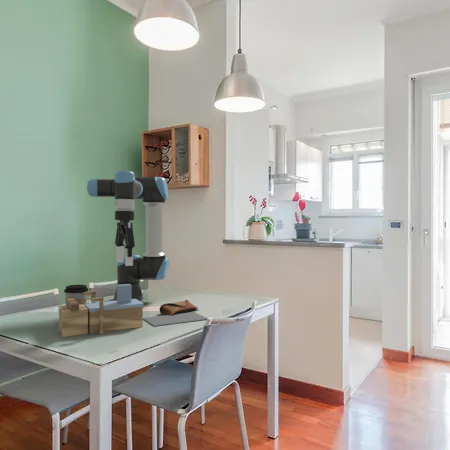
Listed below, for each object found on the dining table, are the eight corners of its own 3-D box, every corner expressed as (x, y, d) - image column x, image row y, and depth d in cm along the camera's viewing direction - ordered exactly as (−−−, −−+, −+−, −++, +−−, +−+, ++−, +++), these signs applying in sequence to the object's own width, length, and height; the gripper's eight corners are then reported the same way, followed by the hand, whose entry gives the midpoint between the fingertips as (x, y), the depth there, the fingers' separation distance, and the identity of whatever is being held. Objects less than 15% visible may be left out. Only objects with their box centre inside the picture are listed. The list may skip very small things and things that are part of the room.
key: (65, 303, 154) (65, 297, 154) (72, 302, 155) (72, 296, 155) (71, 311, 140) (71, 305, 140) (79, 311, 141) (79, 304, 141)
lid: (84, 309, 155) (84, 285, 155) (135, 304, 165) (135, 282, 165) (89, 314, 145) (89, 289, 145) (143, 309, 155) (143, 285, 155)
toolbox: (57, 328, 152) (58, 294, 152) (133, 319, 167) (133, 288, 166) (63, 338, 139) (63, 301, 139) (144, 328, 153) (144, 294, 153)
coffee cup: (67, 320, 165) (68, 284, 165) (91, 319, 166) (91, 284, 166) (60, 326, 155) (60, 288, 155) (85, 325, 156) (85, 288, 156)
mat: (143, 318, 168) (143, 317, 168) (194, 312, 180) (194, 312, 180) (153, 326, 156) (153, 325, 156) (208, 319, 168) (208, 318, 168)
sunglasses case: (172, 314, 172) (167, 300, 174) (163, 321, 176) (157, 307, 178) (200, 308, 186) (194, 295, 188) (190, 314, 190) (185, 301, 192)
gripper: (107, 210, 166) (107, 261, 166) (123, 209, 144) (123, 267, 144) (125, 211, 169) (125, 260, 169) (143, 209, 148) (143, 266, 148)
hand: (124, 263), depth 157 cm, fingers open, 13 cm apart
